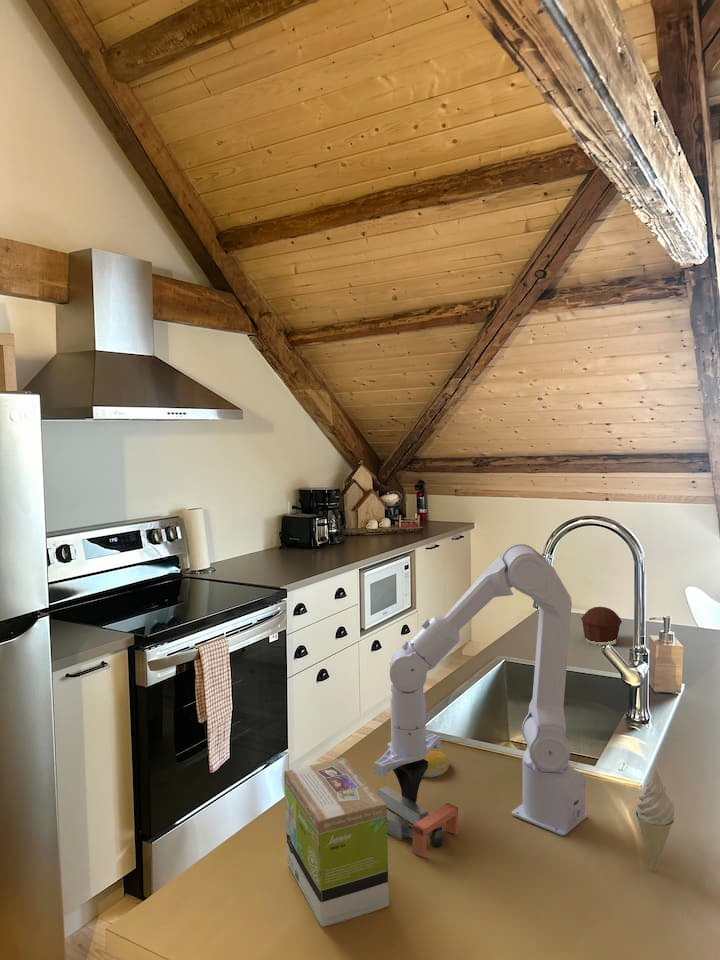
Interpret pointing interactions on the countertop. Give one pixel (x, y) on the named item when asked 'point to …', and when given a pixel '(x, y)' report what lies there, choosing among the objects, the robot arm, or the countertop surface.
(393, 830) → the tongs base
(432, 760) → the bread roll
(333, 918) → the tea box
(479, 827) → the countertop surface
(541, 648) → the robot arm
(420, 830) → the pink bridge block
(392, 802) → the bar
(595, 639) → the muffin
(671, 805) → the ice cream cone
